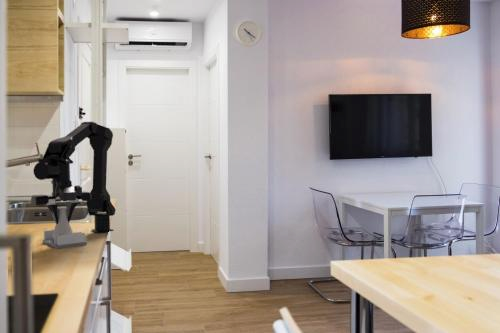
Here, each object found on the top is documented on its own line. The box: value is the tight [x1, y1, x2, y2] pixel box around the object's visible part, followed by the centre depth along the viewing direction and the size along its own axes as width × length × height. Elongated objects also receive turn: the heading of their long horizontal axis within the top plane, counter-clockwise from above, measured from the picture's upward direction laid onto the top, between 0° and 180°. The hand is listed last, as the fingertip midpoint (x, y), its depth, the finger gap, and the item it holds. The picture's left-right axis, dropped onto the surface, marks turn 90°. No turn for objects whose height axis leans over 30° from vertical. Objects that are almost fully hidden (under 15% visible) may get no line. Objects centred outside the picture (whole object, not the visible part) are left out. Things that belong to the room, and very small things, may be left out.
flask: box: [52, 206, 74, 238], centre depth 181 cm, size 7×7×10 cm
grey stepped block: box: [42, 229, 88, 249], centre depth 180 cm, size 14×10×4 cm
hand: (62, 223), depth 181 cm, fingers closed on flask, 3 cm apart
